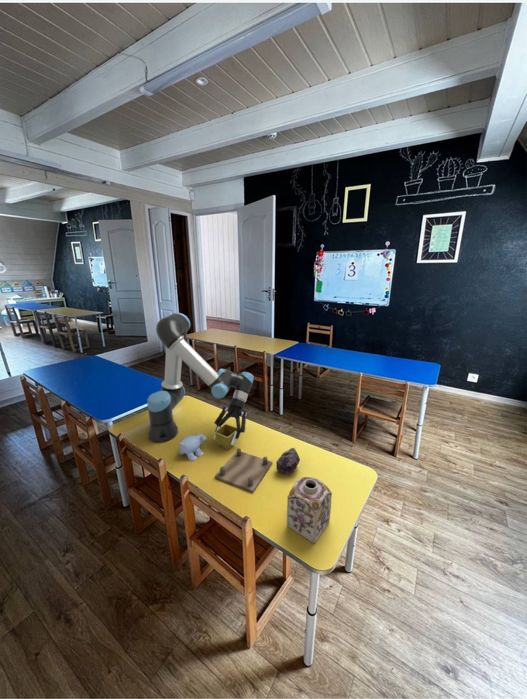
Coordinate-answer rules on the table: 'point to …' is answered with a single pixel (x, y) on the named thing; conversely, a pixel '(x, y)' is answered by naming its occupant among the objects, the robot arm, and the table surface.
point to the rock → (288, 461)
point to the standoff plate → (244, 470)
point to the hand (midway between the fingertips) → (223, 442)
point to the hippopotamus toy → (192, 446)
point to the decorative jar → (309, 507)
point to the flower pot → (225, 435)
